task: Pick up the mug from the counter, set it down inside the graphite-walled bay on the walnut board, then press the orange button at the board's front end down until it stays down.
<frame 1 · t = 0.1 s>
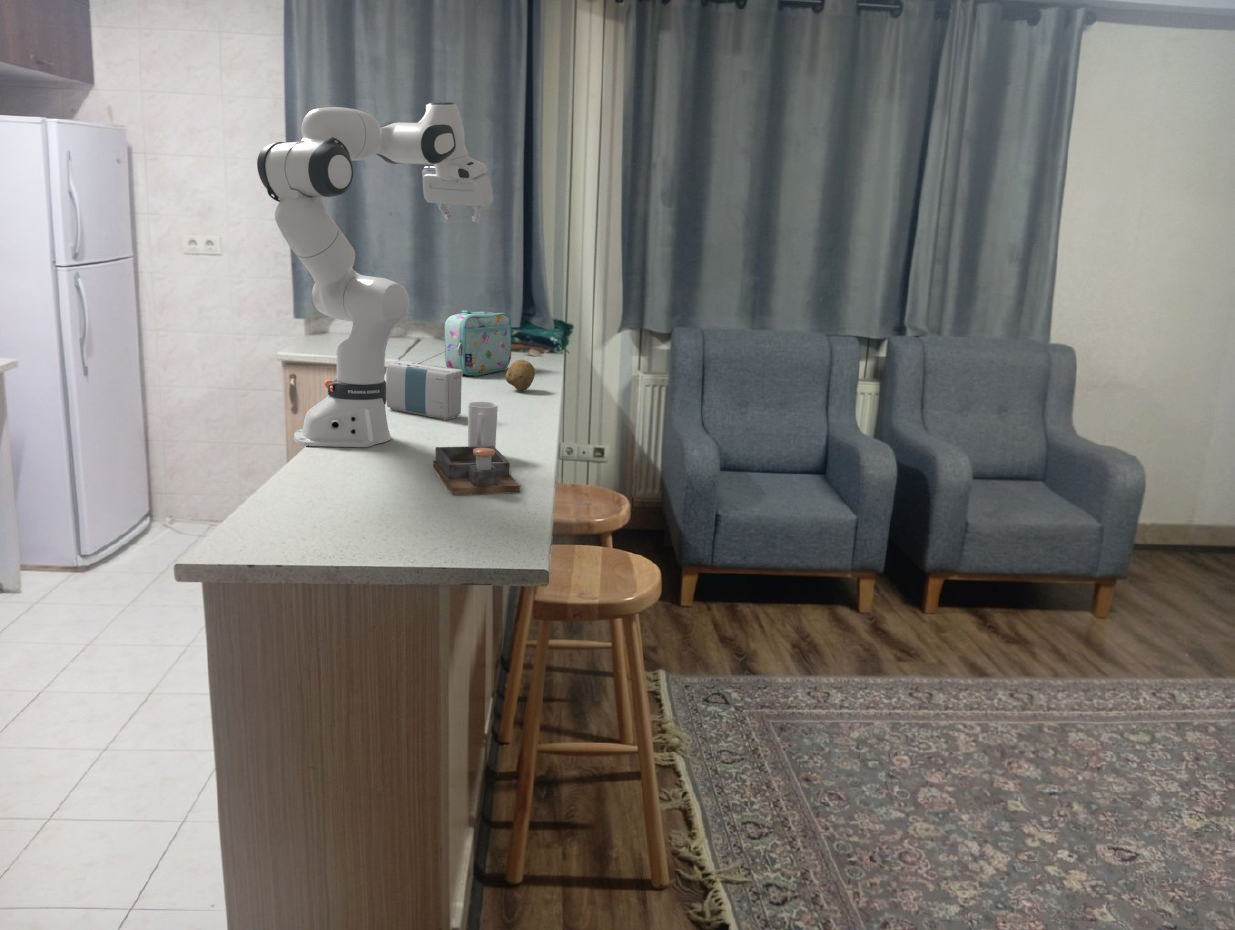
hand: (462, 220, 263), 52 cm above the table, tool tilted 20°, fingers open, 8 cm apart
stereo radio cassette player: (424, 414, 276), on the table
click button: (483, 461, 208), point 6 cm above the table, slide at 0.0 cm
mug: (480, 457, 235), on the table
lunch box: (477, 373, 344), on the table
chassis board: (475, 479, 216), on the table
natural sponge: (519, 391, 316), on the table
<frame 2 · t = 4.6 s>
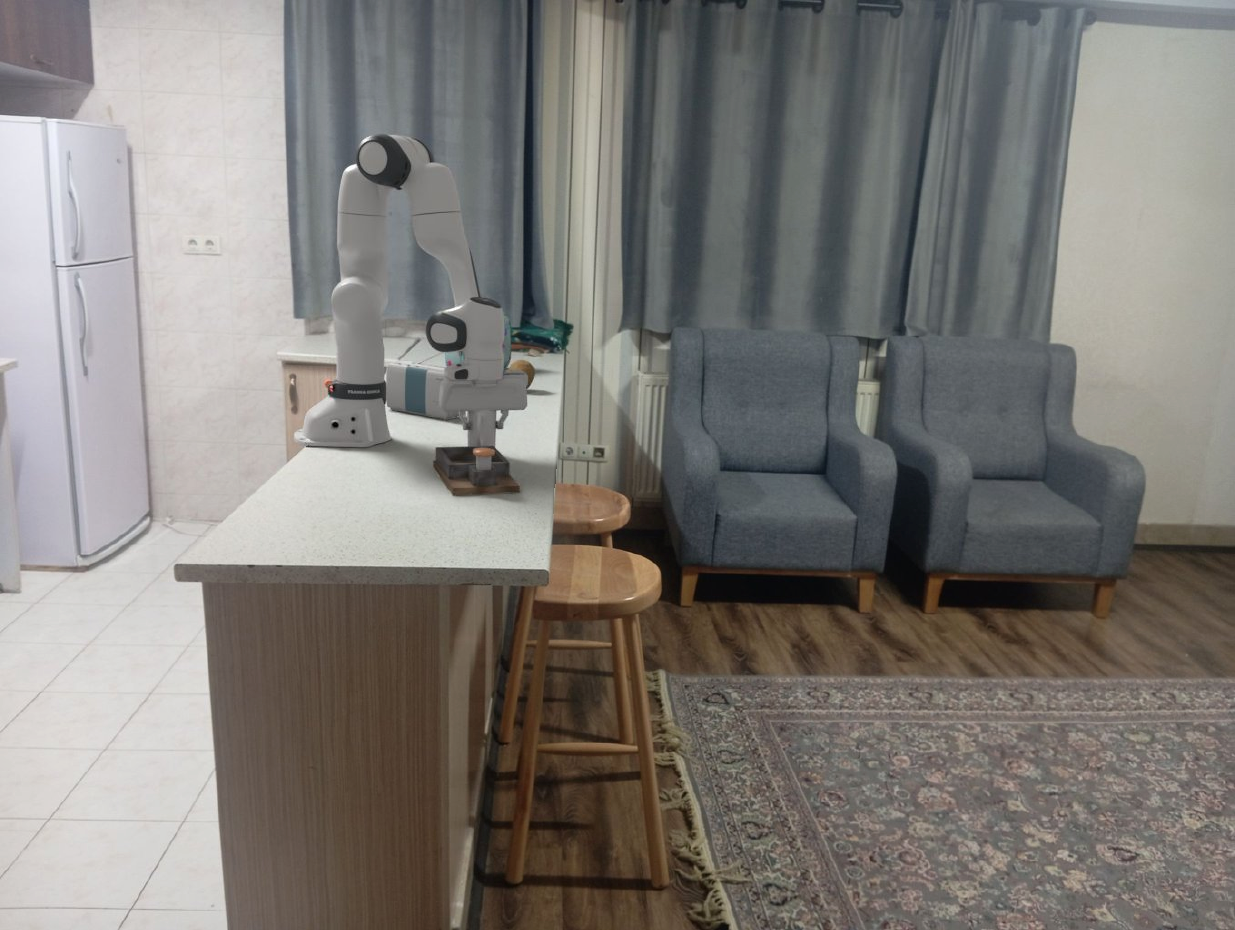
hand: (482, 429, 234), 6 cm above the table, tool pointing down, fingers open, 6 cm apart
mug: (480, 457, 235), on the table, touching gripper
everything else where it was.
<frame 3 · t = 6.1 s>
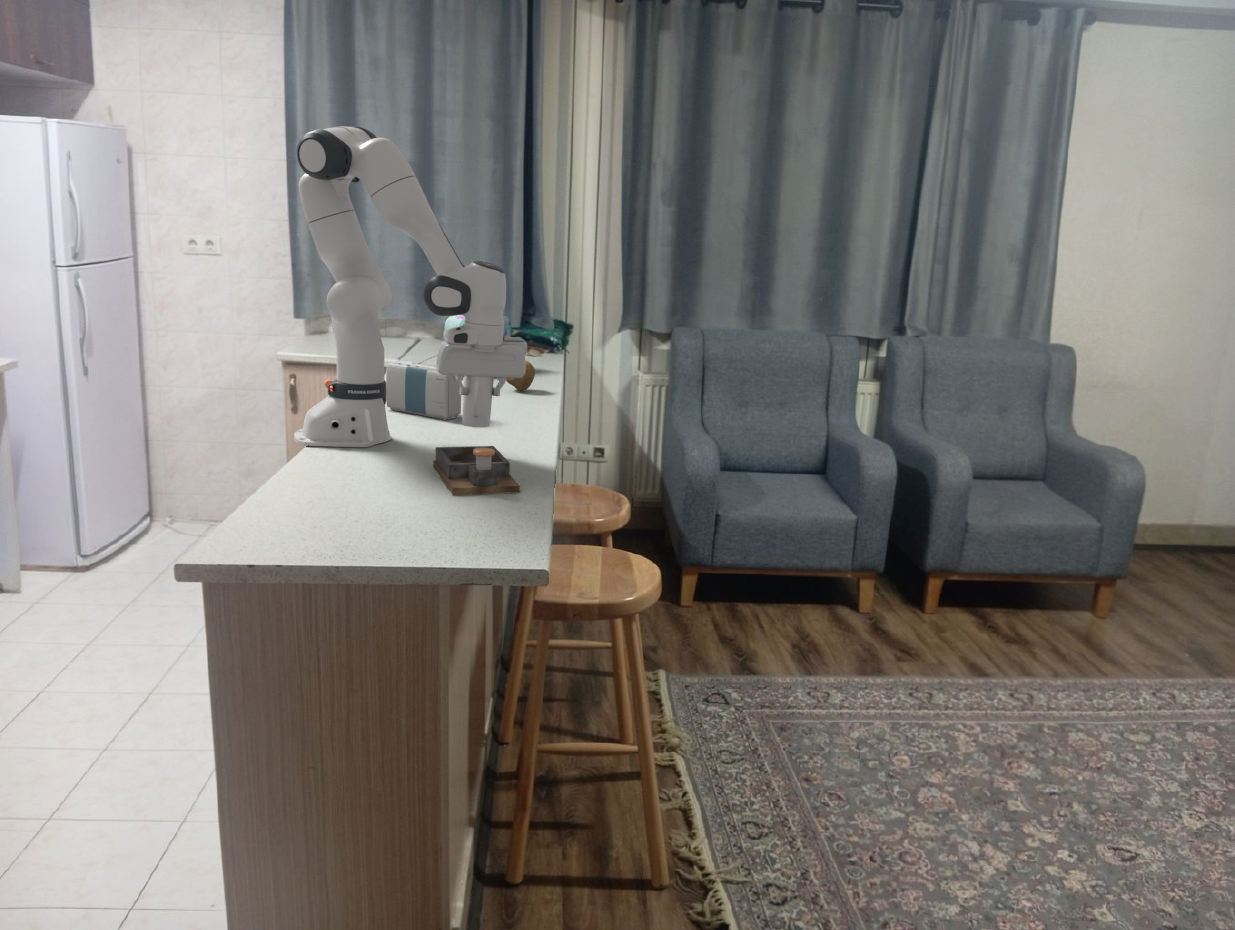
hand: (479, 395, 232), 14 cm above the table, tool pointing down, fingers closed on mug, 6 cm apart
mug: (475, 426, 233), point 7 cm above the table, touching gripper
everything else where it was.
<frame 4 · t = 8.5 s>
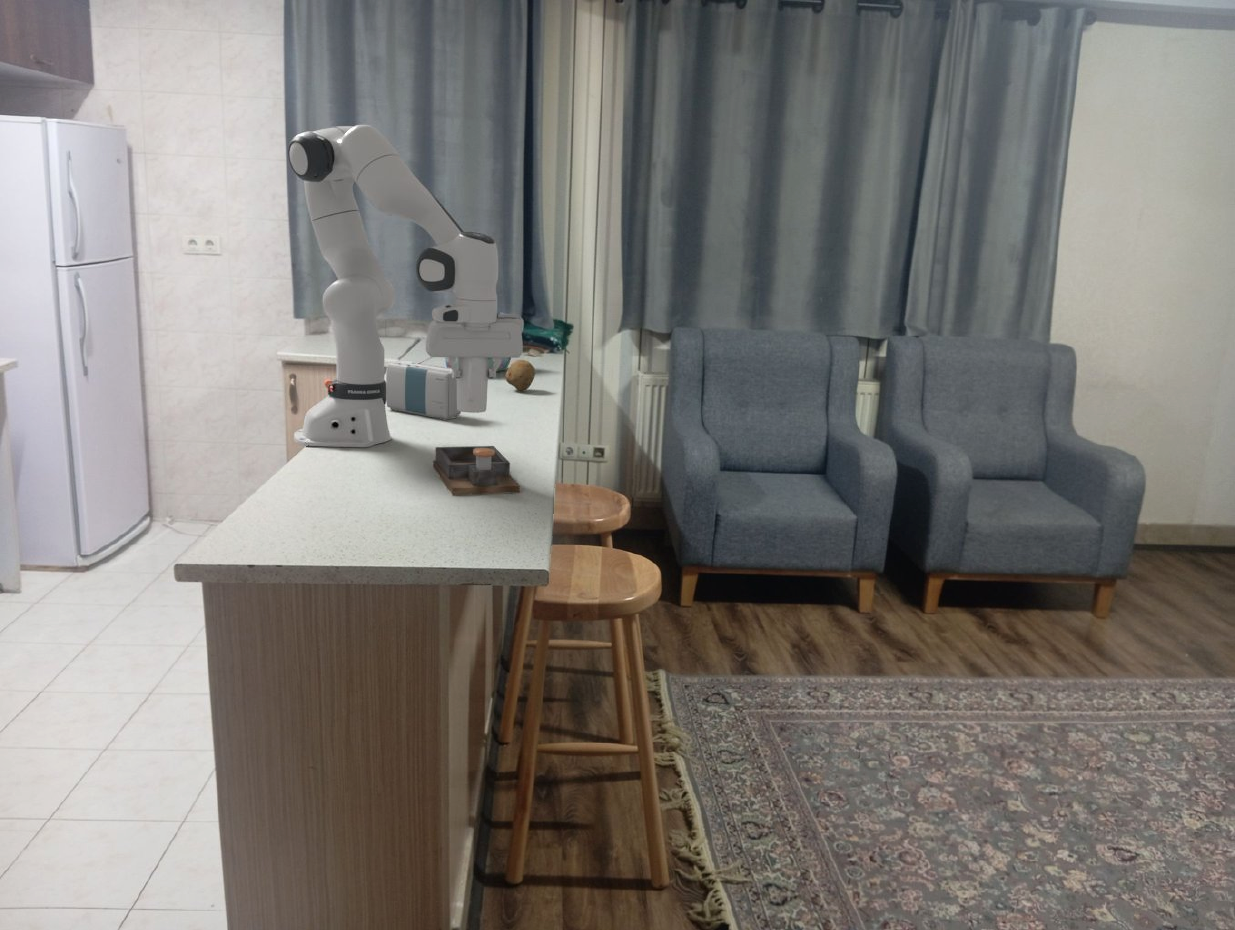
hand: (474, 378, 214), 21 cm above the table, tool pointing down, fingers closed on mug, 6 cm apart
mug: (470, 412, 216), point 14 cm above the table, touching gripper
everything else where it was.
when the fingers open (9 cm above the table, at t = 11.1 s): mug stays where it is, resting on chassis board.
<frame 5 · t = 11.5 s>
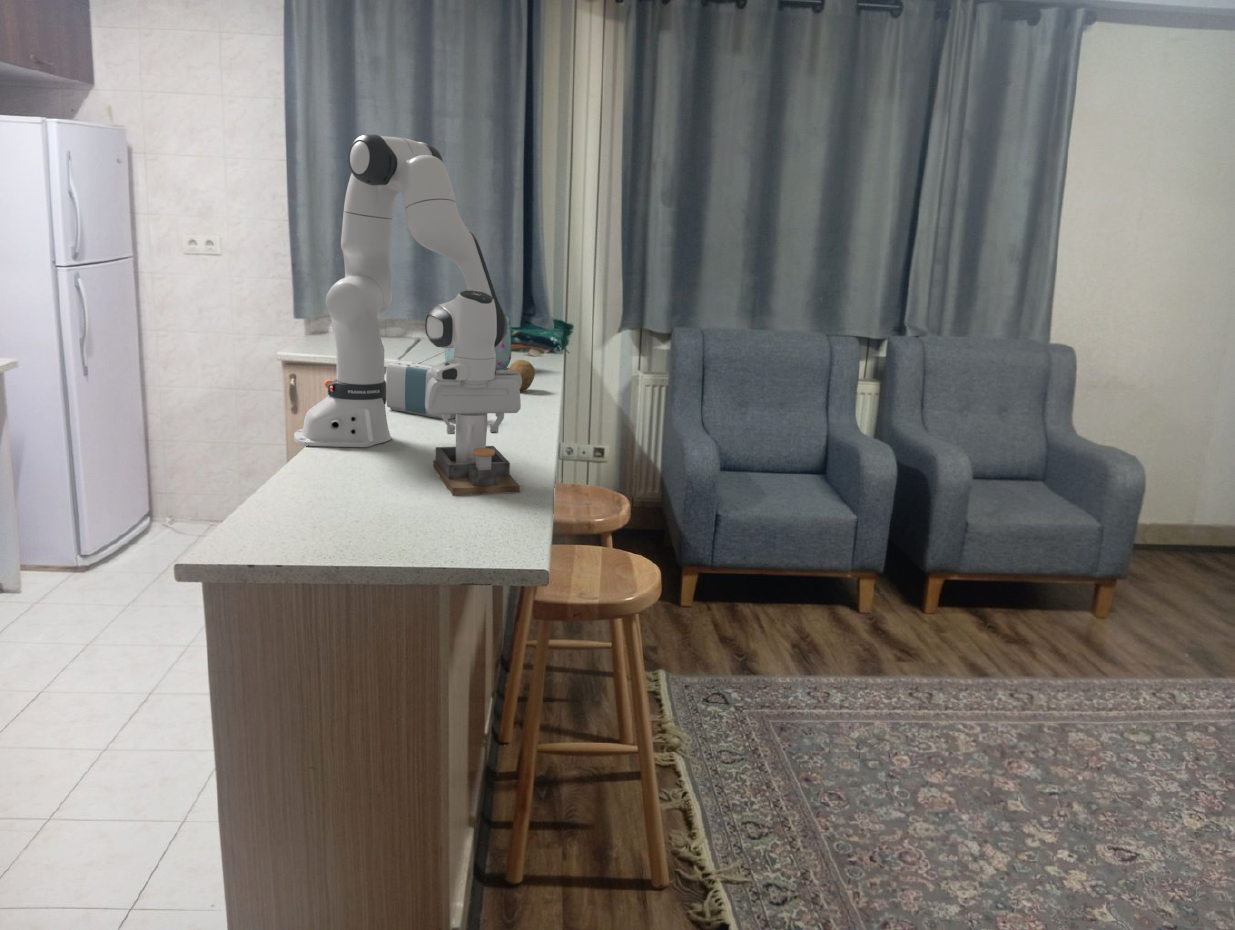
hand: (472, 433, 217), 9 cm above the table, tool pointing down, fingers open, 8 cm apart
mug: (469, 469, 219), point 1 cm above the table, touching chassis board
everything else where it was.
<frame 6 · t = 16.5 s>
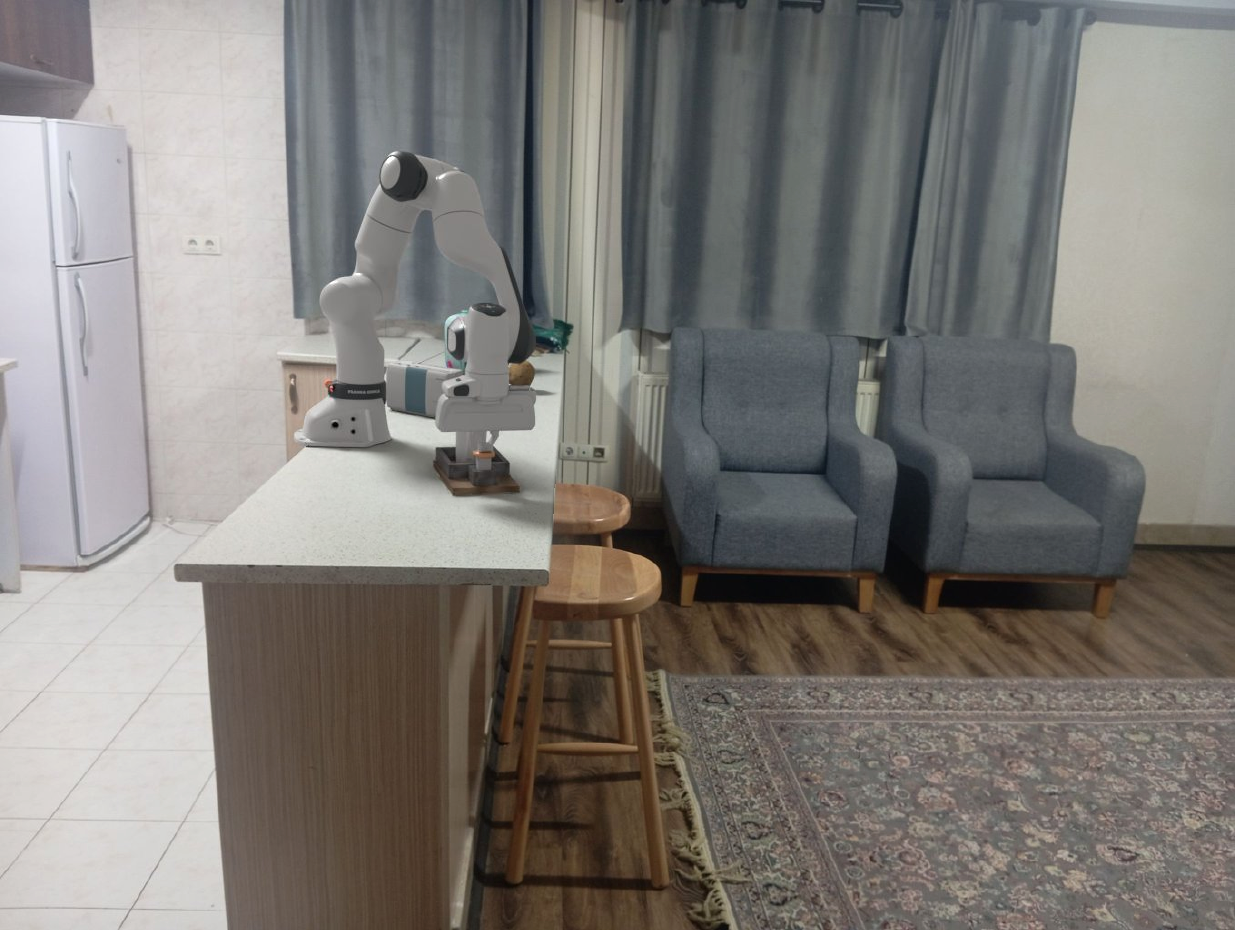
hand: (485, 451, 207), 8 cm above the table, tool pointing down, fingers closed
click button: (483, 463, 208), point 6 cm above the table, slide at 0.4 cm, touching gripper
everything else where it was.
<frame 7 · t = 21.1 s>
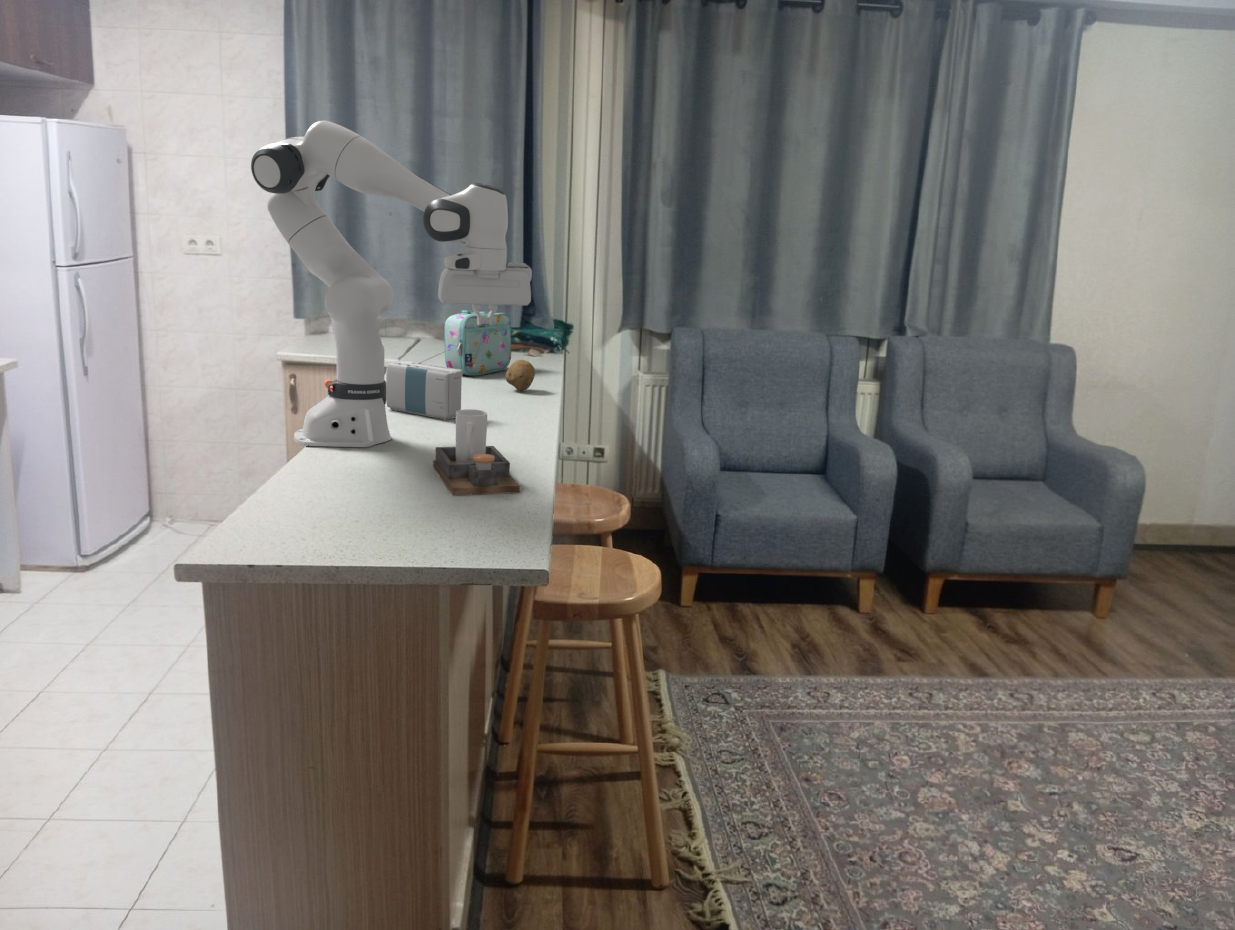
hand: (484, 324, 223), 31 cm above the table, tool pointing down, fingers closed
click button: (483, 467, 208), point 5 cm above the table, slide at 1.3 cm
everything else where it was.
at the end: mug 0.5 cm from the target spot on the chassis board, point 1.3 cm above the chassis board's base; mug tilted 0°; click button slide at 1.3 cm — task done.
